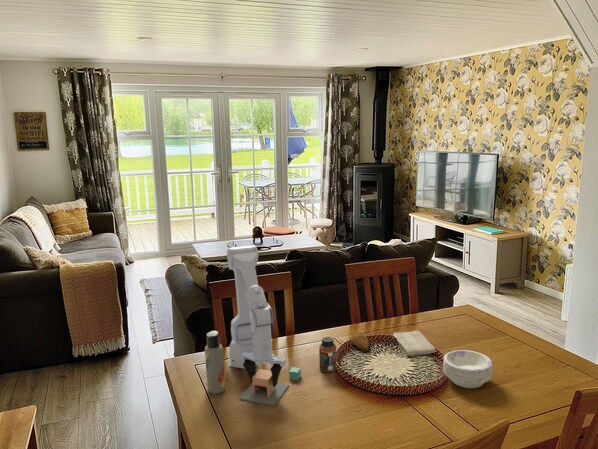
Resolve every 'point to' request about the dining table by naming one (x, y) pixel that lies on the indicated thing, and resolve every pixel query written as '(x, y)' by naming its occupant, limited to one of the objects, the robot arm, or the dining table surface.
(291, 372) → the teal cube
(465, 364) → the paper bowls
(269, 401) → the slate mat
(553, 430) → the dining table surface
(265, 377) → the terracotta cover
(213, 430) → the dining table surface
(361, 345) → the croissant
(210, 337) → the lotion bottle
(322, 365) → the supplement bottle
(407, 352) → the washcloth
